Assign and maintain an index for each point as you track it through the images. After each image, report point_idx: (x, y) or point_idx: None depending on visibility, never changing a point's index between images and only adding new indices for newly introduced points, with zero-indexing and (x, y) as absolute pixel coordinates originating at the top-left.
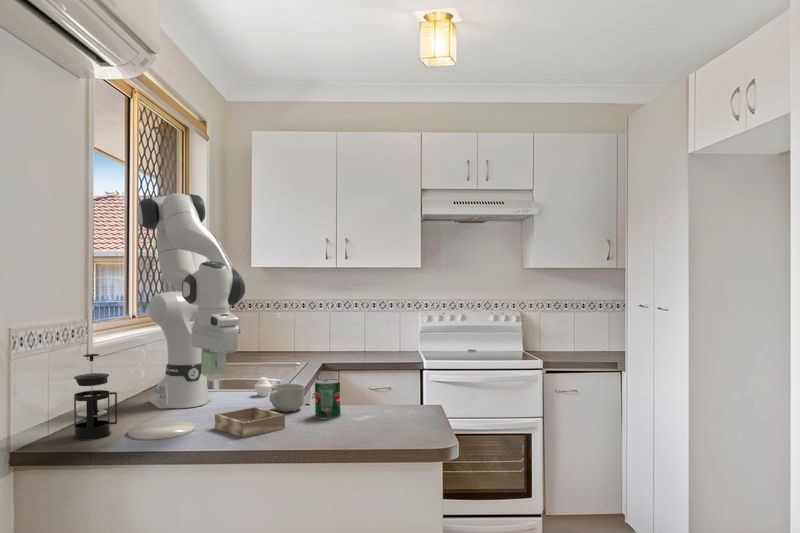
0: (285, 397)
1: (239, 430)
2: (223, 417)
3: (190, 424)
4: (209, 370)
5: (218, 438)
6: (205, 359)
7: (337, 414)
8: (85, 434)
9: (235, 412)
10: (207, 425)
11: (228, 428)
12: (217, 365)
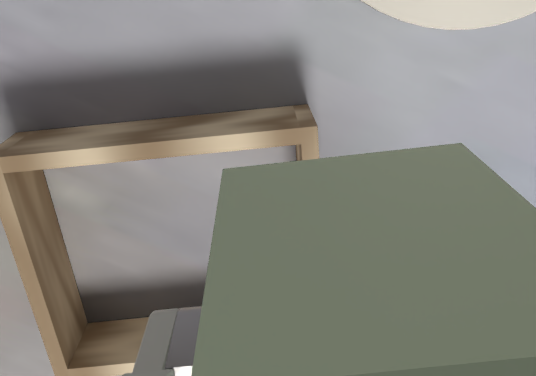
0: None
1: (47, 138)
2: (211, 135)
3: (425, 2)
4: (241, 190)
5: (85, 26)
6: (400, 262)
7: None
8: None
9: None
10: (396, 99)
11: (164, 124)
12: (164, 316)
